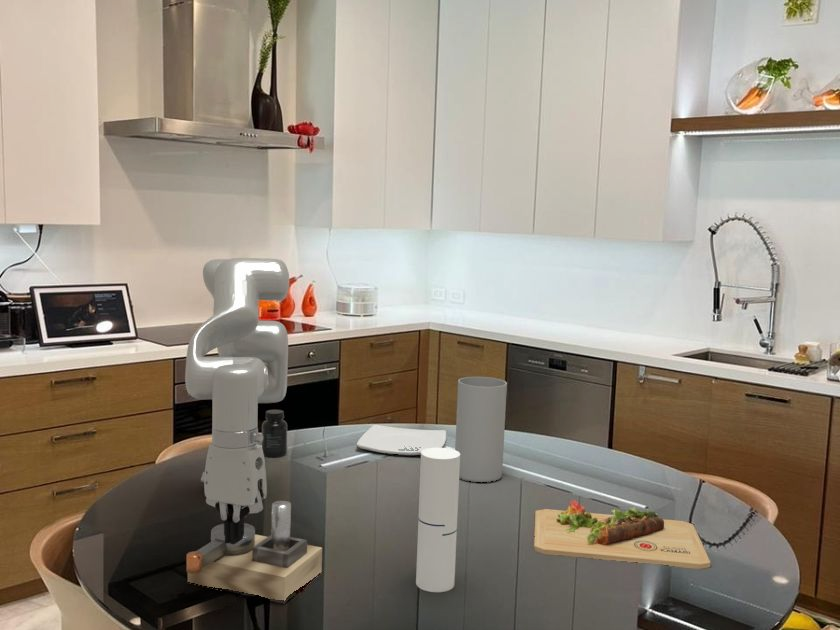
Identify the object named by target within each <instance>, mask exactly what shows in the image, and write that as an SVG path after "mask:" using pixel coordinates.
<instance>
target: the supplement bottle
mask: <svg viewBox="0 0 840 630" xmlns="http://www.w3.org/2000/svg"><path fill="white" fill-rule="evenodd" d="M284 418H285V412H284V410H281V409H269V410H266V411H265V419H266V420H264V421H263V422H262V424H261V434H262V435H263V441H262V442H261V446H262V450H263V454H264V457H266V458H272V459H273V458H282V457H284V456H286V455H287V454H288V423H287V421H285V420H284Z"/></svg>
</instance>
